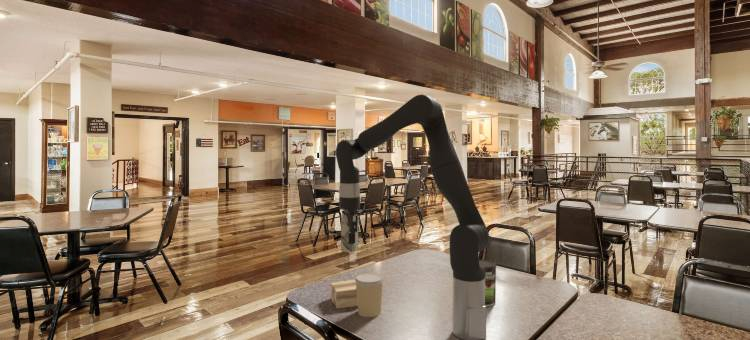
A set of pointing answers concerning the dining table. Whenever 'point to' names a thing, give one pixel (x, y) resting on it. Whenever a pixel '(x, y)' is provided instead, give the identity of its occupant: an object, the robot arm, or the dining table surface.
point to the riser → (344, 293)
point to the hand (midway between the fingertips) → (349, 240)
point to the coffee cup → (369, 294)
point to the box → (345, 238)
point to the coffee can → (489, 281)
